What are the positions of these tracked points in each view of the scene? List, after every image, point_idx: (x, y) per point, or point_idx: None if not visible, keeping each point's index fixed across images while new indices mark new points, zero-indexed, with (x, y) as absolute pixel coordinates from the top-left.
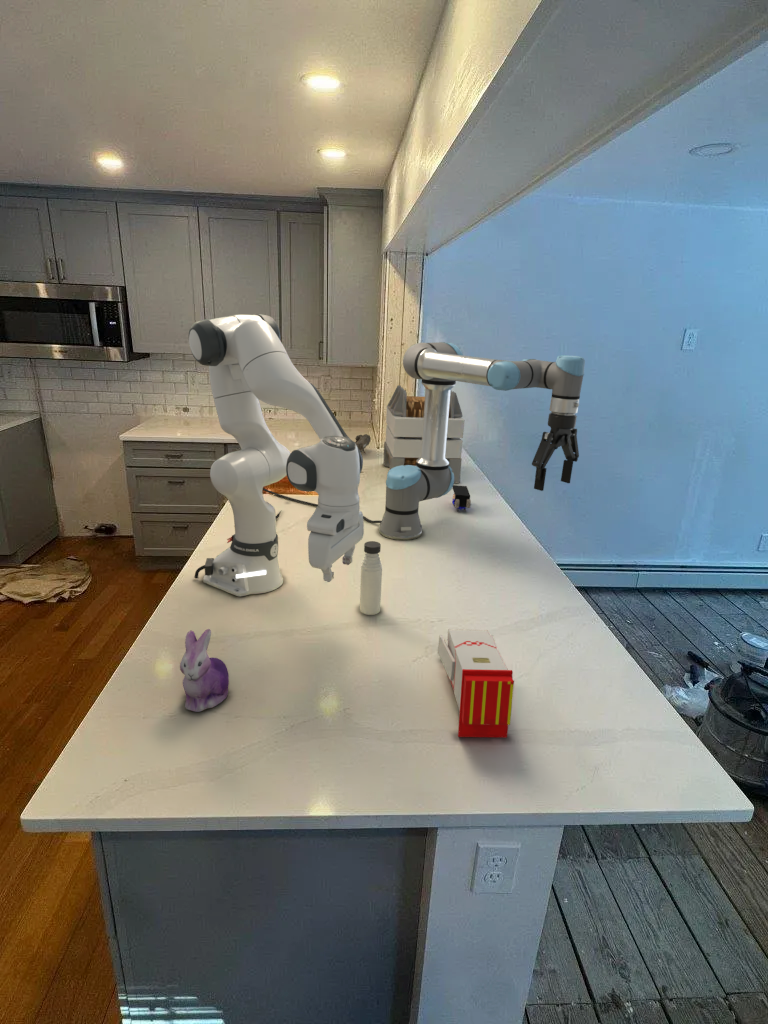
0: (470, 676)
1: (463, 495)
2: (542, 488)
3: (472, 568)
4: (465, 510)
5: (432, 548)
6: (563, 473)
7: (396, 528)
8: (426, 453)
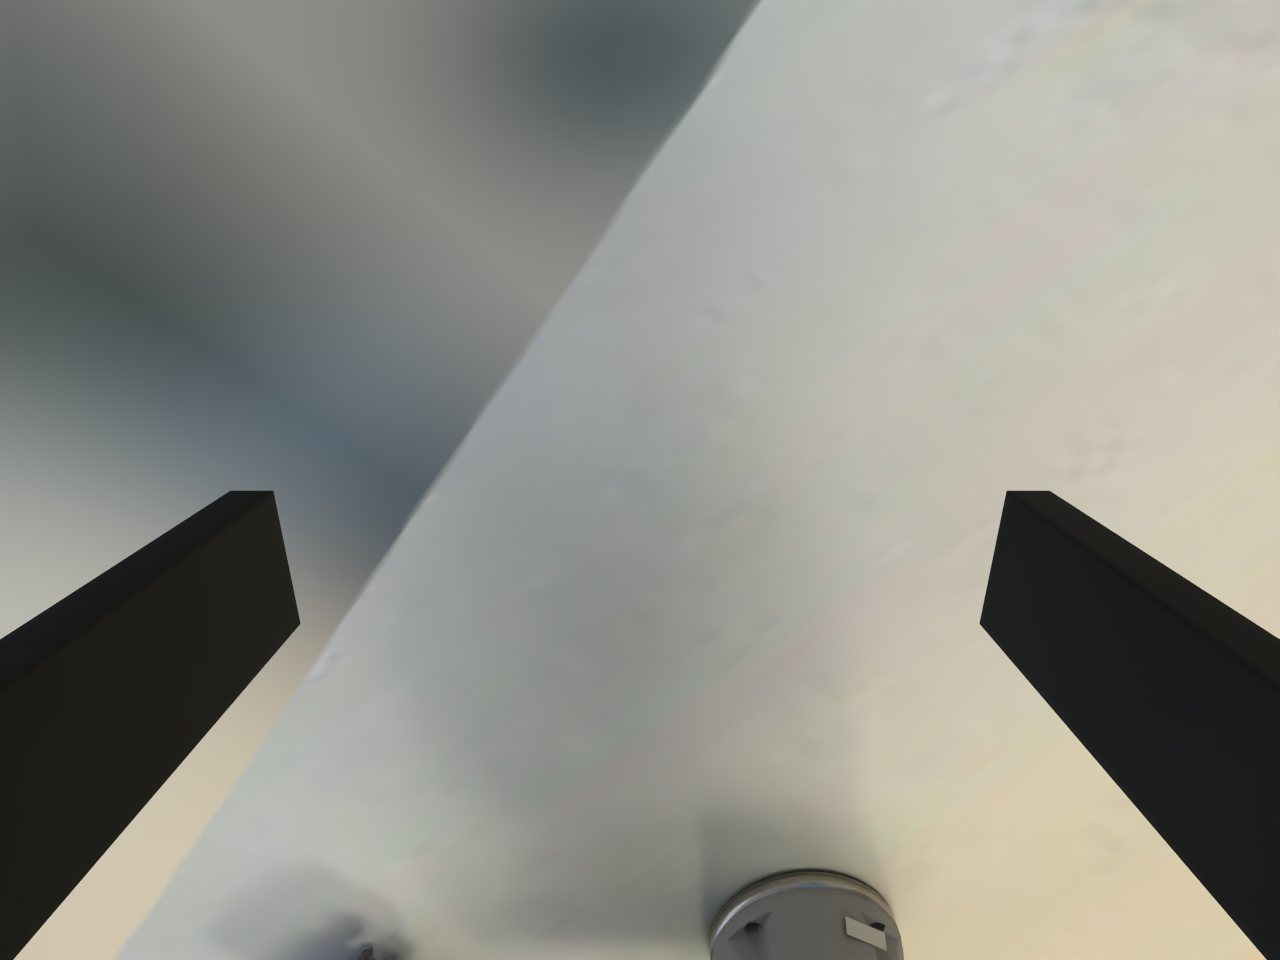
0: None
1: None
2: (1067, 505)
3: (870, 555)
4: (366, 955)
5: (830, 777)
6: (216, 683)
7: (891, 953)
8: None
